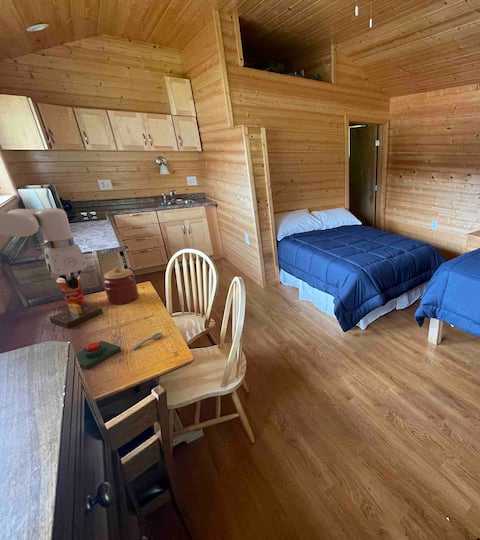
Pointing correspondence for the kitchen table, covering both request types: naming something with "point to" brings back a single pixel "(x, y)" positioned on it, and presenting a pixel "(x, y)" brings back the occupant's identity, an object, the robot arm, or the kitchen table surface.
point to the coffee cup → (71, 292)
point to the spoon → (147, 340)
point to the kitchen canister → (120, 286)
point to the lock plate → (76, 316)
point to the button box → (97, 355)
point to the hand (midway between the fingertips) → (73, 287)
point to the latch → (74, 308)
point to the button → (92, 347)
